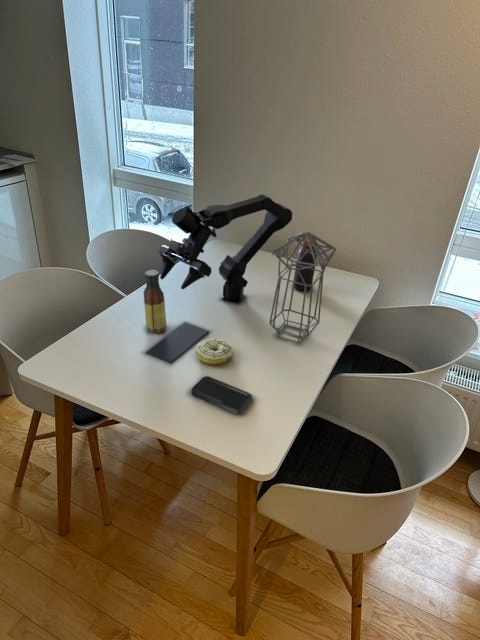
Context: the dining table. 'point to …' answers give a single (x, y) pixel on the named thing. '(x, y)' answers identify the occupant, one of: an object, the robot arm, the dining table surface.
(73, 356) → the dining table surface
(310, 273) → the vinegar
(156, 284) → the sauce bottle
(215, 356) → the decorated donut
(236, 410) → the phone
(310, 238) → the geometric lantern
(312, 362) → the dining table surface
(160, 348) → the mat
